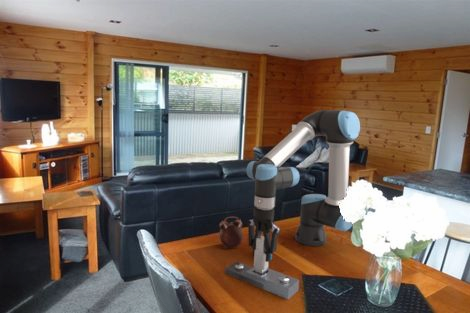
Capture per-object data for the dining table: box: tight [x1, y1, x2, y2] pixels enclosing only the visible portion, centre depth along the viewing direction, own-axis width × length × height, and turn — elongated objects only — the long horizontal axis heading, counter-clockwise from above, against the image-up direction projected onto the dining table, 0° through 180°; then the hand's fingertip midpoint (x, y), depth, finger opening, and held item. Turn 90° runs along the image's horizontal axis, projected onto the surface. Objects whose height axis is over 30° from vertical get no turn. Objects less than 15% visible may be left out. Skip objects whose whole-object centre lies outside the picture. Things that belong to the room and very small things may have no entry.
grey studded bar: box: [224, 260, 300, 300], centre depth 131 cm, size 8×28×5 cm, turn 53°
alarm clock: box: [218, 215, 244, 249], centre depth 159 cm, size 11×5×15 cm, turn 105°
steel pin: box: [255, 235, 267, 276], centre depth 129 cm, size 3×3×14 cm
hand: (260, 266), depth 130 cm, fingers closed on steel pin, 3 cm apart
